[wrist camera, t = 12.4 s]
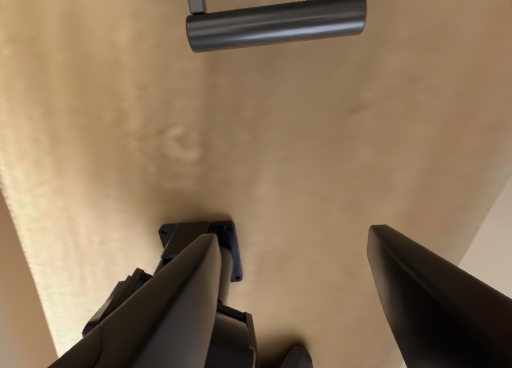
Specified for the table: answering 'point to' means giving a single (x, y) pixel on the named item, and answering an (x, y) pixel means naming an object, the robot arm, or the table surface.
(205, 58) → the table surface
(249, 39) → the drawer
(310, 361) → the gaming controller
